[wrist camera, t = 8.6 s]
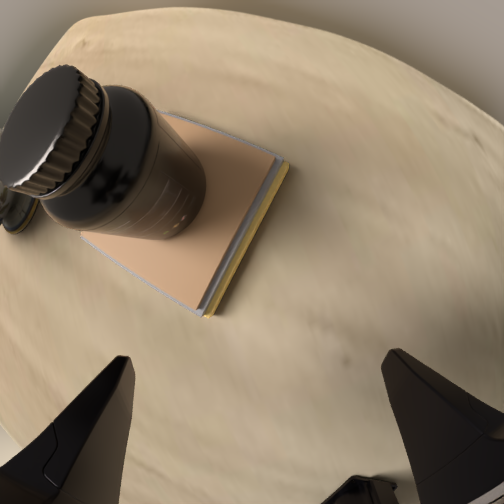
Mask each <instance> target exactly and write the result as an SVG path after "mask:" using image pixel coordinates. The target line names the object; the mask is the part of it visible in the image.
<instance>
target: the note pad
mask: <svg viewBox="0 0 504 504" xmlns="http://www.w3.org/2000/svg"><path fill="white" fill-rule="evenodd" d="M157 111H158V112H159V113H160V114H161V115H162V116H163V118H164V119H165V120H166V121H167V122H168V123H169V124H170V126H171V127H172V128H173V129H174V130H175V131H176V132H177V134H178V135H179V136H180V137H181V138H182V139H183V140H184V142H185V143H186V144H187V145H188V146H189V147H190V149H191V150H192V151H193V152H194V154H195V155H196V156H197V157H198V159H199V160H200V162H201V164H202V166H203V169H204V171H205V176H206V194H205V199H204V202H203V205H202V207H201V210H200V211H199V213H198V215H197V216H196V218H195V219H194V220H193V222H192V223H191V224H190V225H189V226H188V227H187V228H186V229H184V230H183V231H181V232H180V233H178V234H177V235H175V236H172V237H170V238H167V239H162V240H146V239H138V238H130V237H123V236H116V235H108V234H101V233H93V232H86V231H82V232H81V237H80V238H81V239H83V240H84V241H85V242H87V243H88V244H89V245H91V246H92V247H94V248H95V249H96V250H98V251H99V252H100V253H102V254H103V255H105V256H106V257H107V258H109V259H110V260H112V261H113V262H115V263H116V264H118V265H119V266H120V267H122V268H123V269H125V270H126V271H128V272H129V273H131V274H132V275H134V276H135V277H137V278H138V279H140V280H141V281H143V282H144V283H146V284H147V285H149V286H151V287H152V288H154V289H155V290H157V291H158V292H160V293H162V294H163V295H165V296H166V297H168V298H170V299H171V300H173V301H174V302H176V303H178V304H179V305H181V306H183V307H184V308H186V309H188V310H189V311H191V312H193V313H194V314H196V315H198V316H200V317H202V316H205V317H207V318H210V317H211V316H213V314H214V312H215V310H216V308H217V307H218V305H219V303H220V301H221V299H222V297H223V295H224V293H225V291H226V289H227V287H228V285H229V283H230V281H231V279H232V277H233V275H234V273H235V272H236V270H237V268H238V266H239V264H240V262H241V260H242V258H243V256H244V254H245V252H246V250H247V248H248V246H249V244H250V243H251V241H252V239H253V237H254V235H255V233H256V231H257V229H258V227H259V225H260V223H261V221H262V219H263V217H264V216H265V214H266V212H267V210H268V208H269V206H270V204H271V202H272V200H273V198H274V196H275V194H276V193H277V191H278V189H279V187H280V185H281V183H282V181H283V179H284V177H285V175H286V173H287V172H288V170H289V163H287V162H285V161H284V157H281V156H279V155H277V154H275V153H272V152H270V151H268V150H265V149H263V148H261V147H258V146H256V145H254V144H251V143H249V142H246V141H244V140H242V139H239V138H236V137H234V136H231V135H229V134H226V133H224V132H221V131H218V130H216V129H213V128H210V127H207V126H205V125H202V124H199V123H196V122H193V121H190V120H187V119H184V118H181V117H178V116H175V115H172V114H169V113H166V112H163V111H159V110H157Z"/></svg>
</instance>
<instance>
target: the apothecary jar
mask: <svg viewBox="0 0 504 504" xmlns="http://www.w3.org/2000/svg"><path fill="white" fill-rule="evenodd" d="M3 130H4V129H0V139H1V135H2V132H3ZM38 201H39V199H38V198H33V197H31V196H29V195H27V194H24V193H20V192H16V191H12V190H10V189H8V188H7V187H5V186H3V183H2V182H1V181H0V225H1V224H3V226H4V228H5V230H6V231H7V232H9V233H11V234H16V233H19V232H20V231H22V230H23V229H24V228H25V227H26V226H27V224H28V223H29V222H30V220H31V218H32V216H33V214H34V212H35V210H36V207H37V204H38Z"/></svg>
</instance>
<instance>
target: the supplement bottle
mask: <svg viewBox="0 0 504 504" xmlns="http://www.w3.org/2000/svg"><path fill="white" fill-rule="evenodd" d="M0 181H1V182H2V183H3V186H5V187H7V188H8V189H10V190H12V191H16V192H20V193H24V194H27V195H29V196H31V197H33V198H38V199H39V200H40V202H41V204H42V206H43V208H44V210H45V211H46V213H47V214H48V215H49V216H50V217H51V218H52V219H53V220H54V221H55V222H57V223H58V224H60V225H61V226H64V227H66V228H70V229H74V230H79V231H86V232H93V233H101V234H108V235H116V236H123V237H130V238H138V239H146V240H162V239H167V238H170V237H172V236H175V235H177V234H178V233H180V232H181V231H183V230H184V229H186V228H187V227H188V226H189V225H190V224H191V223H192V222H193V220H194V219H195V218H196V216H197V215H198V213H199V211H200V210H201V207H202V205H203V202H204V199H205V194H206V176H205V171H204V169H203V166H202V164H201V162H200V160H199V159H198V157H197V156H196V155H195V154H194V152H193V151H192V150H191V149H190V147H189V146H188V145H187V144H186V143H185V142H184V140H183V139H182V138H181V137H180V136H179V135H178V134H177V132H176V131H175V130H174V129H173V128H172V127H171V126H170V124H169V123H168V122H167V121H166V120H165V119H164V118H163V116H162V115H161V114H160V113H159V112H158V111H157V110H156V109H155V107H154V106H153V105H152V104H151V103H150V102H149V101H148V100H147V99H146V98H145V97H144V96H143V95H142V94H141V93H139V92H138V91H136V90H134V89H132V88H130V87H126V86H121V85H105V86H101V85H100V84H99V83H98V82H96V81H95V80H93V79H90V78H88V77H87V76H86V75H84V74H83V73H82V72H81V71H79V70H78V69H77V68H76V67H74V66H69V65H67V64H66V65H63V66H61V65H59V66H57V67H56V68H52V69H50V70H49V71H48V72H45V73H44V74H43V75H42V76H41V77H39V78H37V79H36V80H35V81H34V83H33V84H31V85H30V86H29V87H28V89H27V90H26V91H25V92H24V93H23V94H22V96H21V97H20V99H19V101H18V102H17V103H16V104H15V106H14V108H13V110H12V112H11V113H10V115H9V118H8V120H7V122H6V124H5V126H4V130H3V132H2V135H1V139H0Z"/></svg>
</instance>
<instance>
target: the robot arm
mask: <svg viewBox="0 0 504 504" xmlns="http://www.w3.org/2000/svg"><path fill="white" fill-rule="evenodd" d="M381 370H382V374H383V378H384V382H385V386H386V389H387V393H388V397H389V401H390V404H391V407H392V410H393V413H394V416H395V419H396V422H397V424H398V427H399V430H400V433H401V436H402V439H403V443H404V446H405V449H406V452H407V455H408V459H409V462H410V465H411V469H412V472H413V476H414V479H415V483H416V487H417V491H418V495H419V499H420V503H421V504H504V413H502V412H500V411H498V410H497V409H495V408H493V407H491V406H489V405H487V404H485V403H484V402H482V401H480V400H479V399H477V398H475V397H474V396H472V395H471V394H469V393H468V392H466V391H465V390H463V389H461V388H460V387H458V386H457V385H455V384H454V383H452V382H451V381H449V380H448V379H446V378H445V377H443V376H442V375H440V374H439V373H437V372H435V371H434V370H432V369H431V368H429V367H428V366H426V365H425V364H423V363H422V362H420V361H419V360H417V359H416V358H414V357H413V356H411V355H409V354H408V353H406V352H405V351H403V350H402V349H400V348H396V349H391V350H389V352H388V353H387V355H386V357H385V359H384V361H383V363H382V365H381ZM134 387H135V371H134V368H133V365H132V361H131V358H130V357H129V356H122V355H118V356H116V357H115V358H114V359H113V360H112V361H111V362H110V363H109V364H108V365H107V366H106V367H105V368H104V369H103V370H102V371H101V372H100V373H99V374H98V375H97V376H96V377H95V378H94V379H93V380H92V381H91V382H90V383H89V384H88V385H87V386H86V387H85V388H84V389H83V391H82V392H81V393H80V394H79V395H78V396H77V397H76V398H75V399H74V400H73V401H72V402H71V403H70V404H69V405H68V406H67V407H66V408H65V409H64V410H63V411H62V412H61V413H60V414H59V415H58V416H57V417H56V418H55V419H54V421H53V422H51V423H50V425H49V426H48V427H47V428H46V429H45V430H44V431H43V432H42V433H41V434H40V435H39V436H38V437H37V438H36V439H34V440H33V441H32V442H31V443H30V444H29V445H28V446H26V447H25V448H24V449H23V450H22V451H20V452H19V453H18V454H17V455H15V456H14V457H13V458H12V459H11V460H9V461H8V462H7V463H6V464H4V465H3V466H1V467H0V504H119V495H120V487H121V479H122V472H123V465H124V459H125V453H126V447H127V441H128V436H129V430H130V425H131V419H132V409H133V397H134ZM353 480H354V481H353ZM397 487H398V486H397V484H396V483H391V482H385V481H379V480H372V479H366V478H361V477H357V476H353V477H350V478H349V479H348V480H347V481H346V482H345V483H344V484H343V485H342V486H341V487H339V488H338V489H337V490H336V491H335V492H334V493H333V494H332V495H331V496H329V497H328V498H327V499H326V500H325V501H324V502H323V503H321V504H399V503H398V501H397V498H396V496H395V494H394V490H395V489H396V488H397Z"/></svg>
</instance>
